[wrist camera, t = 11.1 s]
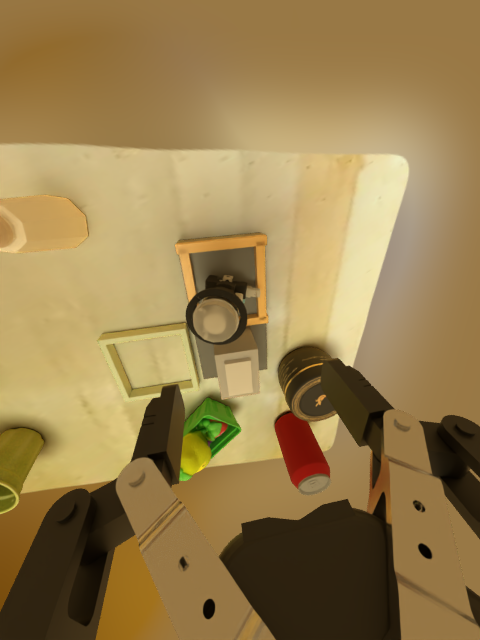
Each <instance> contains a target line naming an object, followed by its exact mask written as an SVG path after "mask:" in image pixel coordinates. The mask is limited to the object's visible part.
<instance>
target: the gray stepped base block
mask: <svg viewBox="0 0 480 640" xmlns="http://www.w3.org/2000/svg"><path fill="white" fill-rule="evenodd" d="M265 245H267V236H266V235H264V234H262V233H249V234H239V235H228V236H218V237H208V238H198V239H188V240H179V241H178V242H177V243H176V244H175V248H176V252H177V255H178V254H179V259H180V264H181V269H182V274H183V279H184V284H185V289H186V294H187V299H188V303H189V302H190V301H191V299H192V298H193V297H194V296H195V295H196V294H197V293H199V292H200V291H202V290H205V280H206V279H207V278H208V276H209V275H214V276H217V279H222V280H223V277H224V275H230V276H233V279H232V281H237V282H247V286H252V288H259V289H260V292H261V293H260V297H250V298H249V297H246V298H245V303H244V305H245V307H246V310H247V317H248V319H247V326H246V329H245V331H244V332H243V334H242V335H241V336H240V337H239V338H238V339H237V340H235V341H233V342H231V343H228V344H224V345H214V344H209V343H206V342H204V341H202V340H200V339H199V338H198V337H196V336H195V338H196V343H197V348H198V353H199V357H200V362H201V367H202V372H203V377H204V379H208V378H214V377H218V380H219V386H220V393H221V399H222V400H223V399H229V398H235V397H241V396H247V395H252V394H258V393H260V383H259V370H264V369H267V339H266V323H268V315H267V313H266V279H265ZM256 291H257V290H256ZM255 293H257V292H255ZM254 295H256V294H254ZM202 301H203V299H202V300H200V301H199V302H198V304H197V306H198V305H199V304H200V303H202ZM238 317H239V320H240V318H241V317H240V313H239V311H238Z"/></svg>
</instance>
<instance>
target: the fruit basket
mask: <svg viewBox="0 0 480 640" xmlns="http://www.w3.org/2000/svg"><path fill="white" fill-rule="evenodd" d="M240 432H241V428H240V426H239V424H238V423H237V421H236V419H235V417H234V415H233V413H232V411H231V409H230V407H228V406H225V405H224V404H222V403H220V402H217V401H215V400H212V399H211V398H206V400H205V401H204V402H203V403H202V405H200V406H199V407H198V408H197V409H196V410H195V412H194V413H193V414H191V415H190V417H189V418H188V419H187V421H185V422H184V432H183V443H182V455H181V466H180V478H179V480H180V481H181V480H182V481H186V480H189V479H190V478H191V477H192V476H193V474H194V473H196V472H199V471H200V470H202V469H203V468H204V467H206V466H207V465H208V463H209V461H210V459H212V458H213V457H214V456H215V455H216V454H217V453H218V452H219V451H220V450H221V449H222V448H224V447H225V446H226V445H227V444H228V443H229V442H230V441H231V440H232V439H233V438H234V437H235V436H237V435H238V434H239V433H240Z"/></svg>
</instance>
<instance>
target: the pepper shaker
mask: <svg viewBox="0 0 480 640" xmlns="http://www.w3.org/2000/svg"><path fill="white" fill-rule="evenodd" d="M87 237H88V230H87V223H86V216H85V215H84V214H83V213H82V212H81V211H80V210H79V209H78V208H77V207H76V206H75V205H74V204H73V203H72V202H71V201H70V200H69V199H68V198H62V197H56V196H49V195H37V196H27V197H17V198H7V199H0V251H2V252H12V253H25V252H36V251H47V250H57V249H68V248H76V247H77V246H78V245H79V244H81V243H82V242H83V241H84V240H85V239H86V238H87Z"/></svg>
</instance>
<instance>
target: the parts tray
mask: <svg viewBox="0 0 480 640" xmlns="http://www.w3.org/2000/svg"><path fill="white" fill-rule="evenodd" d="M173 335H181V338H182V342H183V346H184V351H185V355H186V359H187V363H188V367H189V371H190V376H191V380H189V381H182V382H176V383H170V384H164V385H157V386H151V387H145V388H138V389H132V388H131V385H130V383H129V381H128V378H127V376H126V373H125V371H124V369H123V366H122V364H121V362H120V359H119V357H118V354H117V352H116V350H115V347H114V345H113V344H116V343H123V342H130V341H137V340H145V339H152V338H159V337H166V336H173ZM97 342H98V344H99V346H100V349H101V351H102V353H103V355H104V357H105V359H106V362H107V364H108V366H109V368H110V370H111V372H112V375H113V377H114V379H115V381H116V383H117V386H118V388H119V390H120V392H121V394H122V396H123V399H124V401H125V402H131V401H137V400H143V399H149V398H155V397H160V395H161V391H162V387H163V386H167V385H173V384H178V385H179V388H180V392H181V393H186V392H192V391H198V390H199V378H198V374H197V369H196V365H195V360H194V355H193V351H192V346H191V342H190V337H189V333H188V328H187V323H180V324H173V325H165V326H158V327H150V328H143V329H135V330H128V331H120V332H113V333H105V334H102V335H101V336H100V338H99V339H98V340H97Z"/></svg>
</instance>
